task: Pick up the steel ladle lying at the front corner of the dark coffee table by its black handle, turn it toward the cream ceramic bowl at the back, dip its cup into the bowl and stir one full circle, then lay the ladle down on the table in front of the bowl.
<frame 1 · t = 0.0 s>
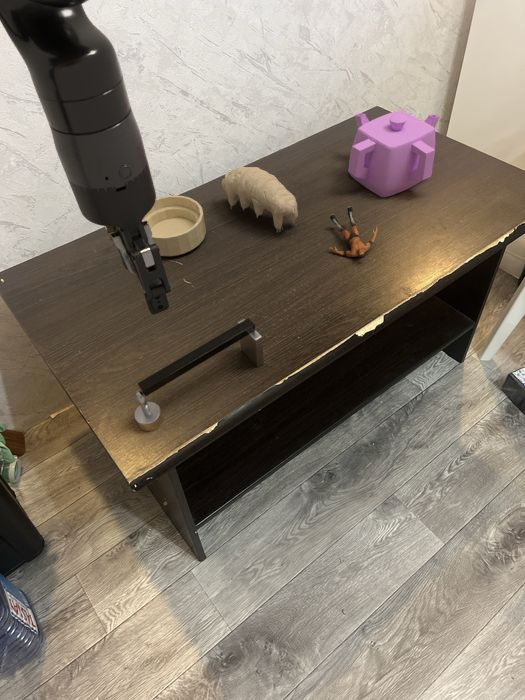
hand: (146, 287, 59), 20 cm above the table, tool pointing down, fingers open, 8 cm apart
bowl: (173, 237, 96), on the table
figurine: (348, 244, 93), on the table
teakettle: (388, 174, 106), on the table
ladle: (150, 419, 71), on the table
model: (259, 217, 99), on the table
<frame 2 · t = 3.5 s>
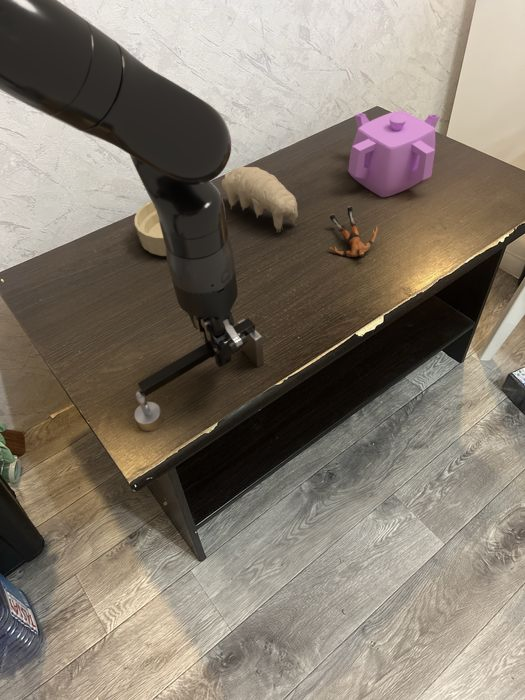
hand: (219, 357, 72), 4 cm above the table, tool pointing down, fingers closed on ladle
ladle: (150, 420, 71), on the table, touching gripper
everything else where it was.
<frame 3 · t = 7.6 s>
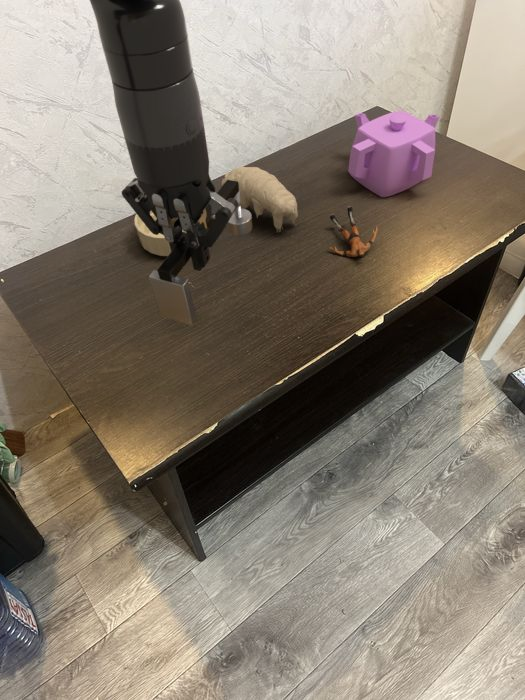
hand: (192, 263, 60), 21 cm above the table, tool pointing down, fingers closed on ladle
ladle: (239, 227, 71), point 17 cm above the table, touching gripper
everything else where it was.
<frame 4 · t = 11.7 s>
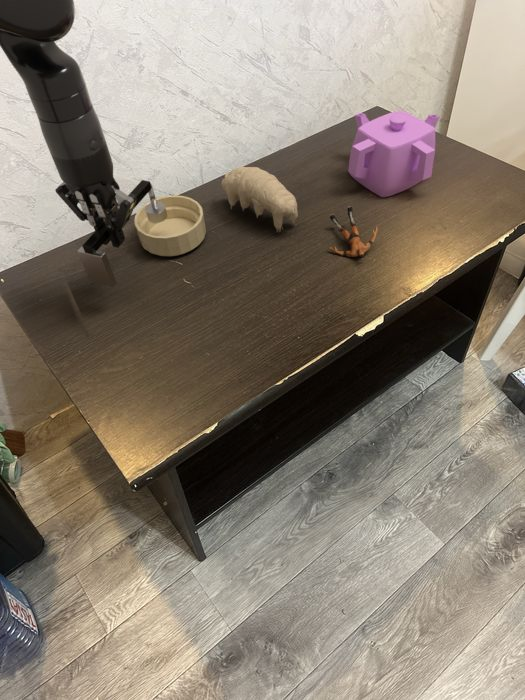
hand: (113, 242, 81), 9 cm above the table, tool pointing down, fingers closed on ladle
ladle: (157, 217, 92), point 5 cm above the table, touching gripper
everything else where it was.
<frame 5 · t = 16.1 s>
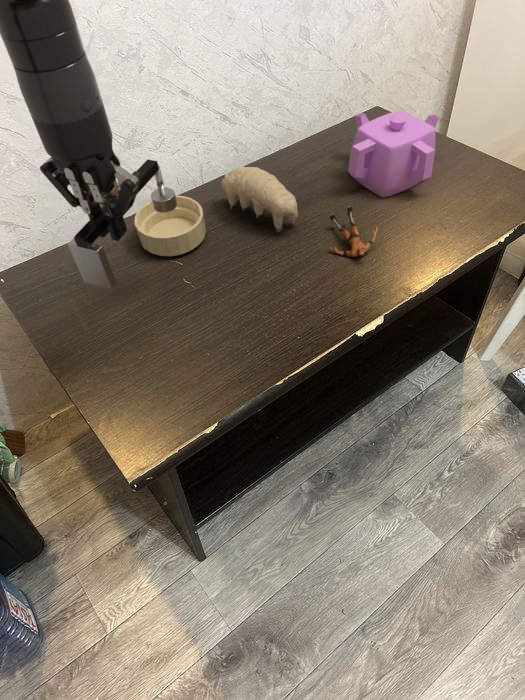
hand: (112, 234, 66), 20 cm above the table, tool pointing down, fingers closed on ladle
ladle: (165, 205, 77), point 15 cm above the table, touching gripper
everything else where it was.
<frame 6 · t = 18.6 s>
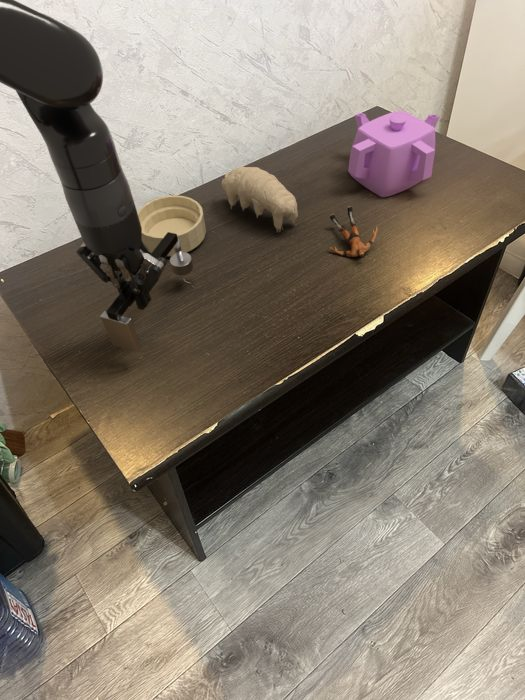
hand: (137, 303, 75), 8 cm above the table, tool pointing down, fingers closed on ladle
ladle: (182, 268, 85), point 4 cm above the table, touching gripper
everything else where it was.
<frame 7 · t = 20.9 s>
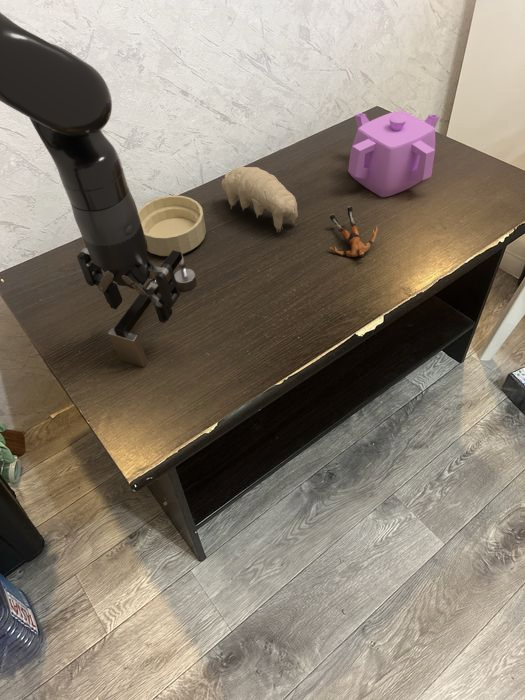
hand: (141, 311, 76), 6 cm above the table, tool pointing down, fingers open, 8 cm apart
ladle: (186, 283, 88), on the table
everything else where it was.
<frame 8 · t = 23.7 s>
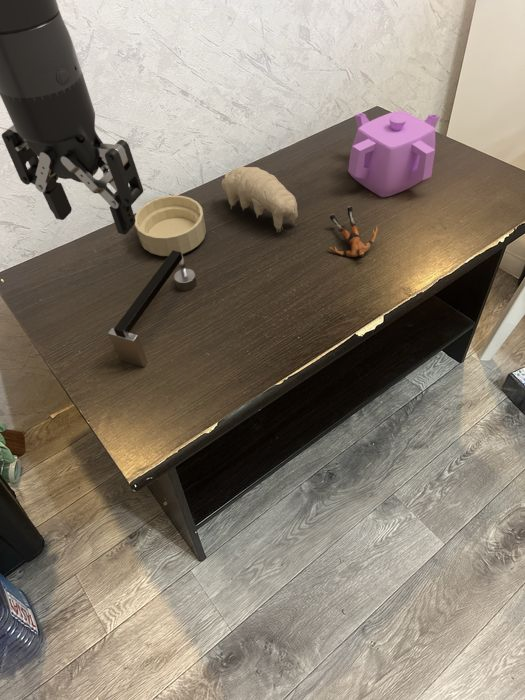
hand: (95, 222, 58), 26 cm above the table, tool pointing down, fingers open, 8 cm apart
nothing on the table moved.
at the end: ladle inside the target area on the table beside the bowl (0.6 cm from its centre), on the table; the gripper is holding nothing; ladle tilted 0° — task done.
